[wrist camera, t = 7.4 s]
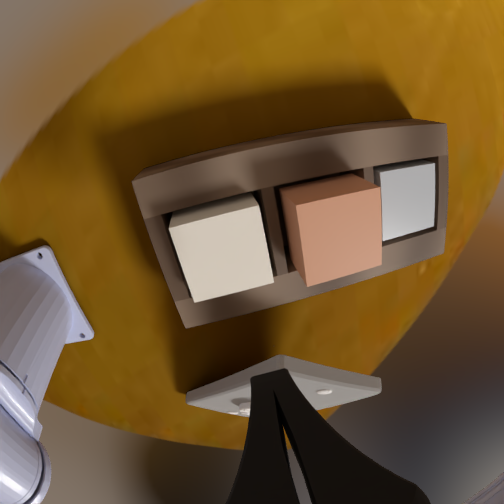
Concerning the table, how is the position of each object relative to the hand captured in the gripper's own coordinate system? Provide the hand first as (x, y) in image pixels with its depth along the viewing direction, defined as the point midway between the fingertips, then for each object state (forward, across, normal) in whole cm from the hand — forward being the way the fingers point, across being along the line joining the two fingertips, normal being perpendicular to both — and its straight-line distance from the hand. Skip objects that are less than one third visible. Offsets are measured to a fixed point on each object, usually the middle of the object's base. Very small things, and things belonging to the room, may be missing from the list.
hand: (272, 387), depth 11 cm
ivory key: (+9, +1, -3) cm, 9 cm away
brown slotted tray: (+10, -5, -3) cm, 12 cm away
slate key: (+10, -11, -3) cm, 15 cm away
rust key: (+8, -5, -3) cm, 10 cm away
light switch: (+11, 0, +10) cm, 14 cm away
